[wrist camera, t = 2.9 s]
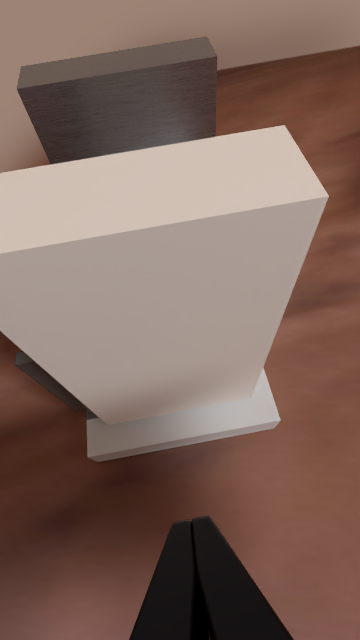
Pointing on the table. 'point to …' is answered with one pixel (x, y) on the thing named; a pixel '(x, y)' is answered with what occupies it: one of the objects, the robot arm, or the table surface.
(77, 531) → the table surface
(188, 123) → the brushed steel plate
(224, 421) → the base
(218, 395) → the cream upright slab
